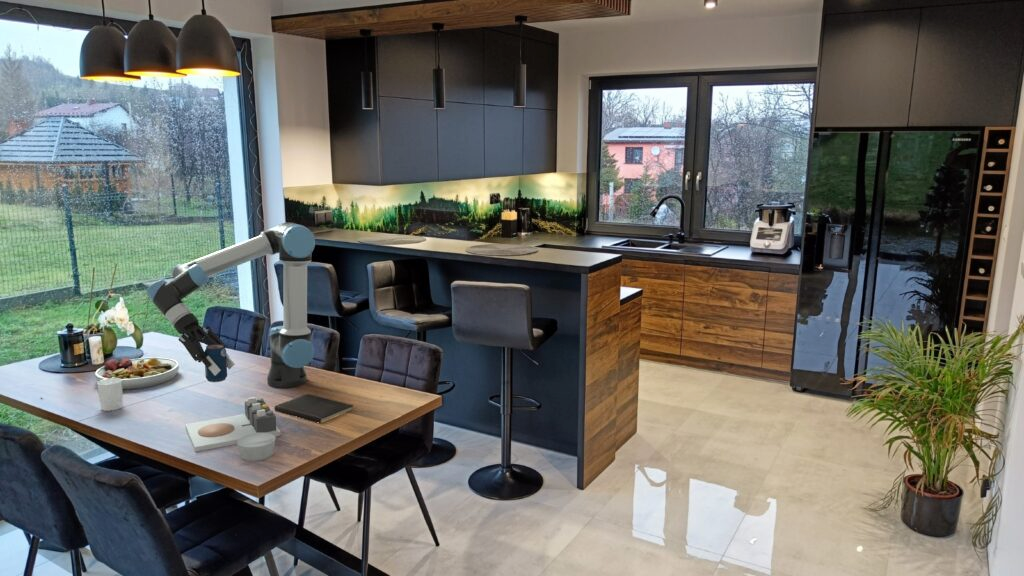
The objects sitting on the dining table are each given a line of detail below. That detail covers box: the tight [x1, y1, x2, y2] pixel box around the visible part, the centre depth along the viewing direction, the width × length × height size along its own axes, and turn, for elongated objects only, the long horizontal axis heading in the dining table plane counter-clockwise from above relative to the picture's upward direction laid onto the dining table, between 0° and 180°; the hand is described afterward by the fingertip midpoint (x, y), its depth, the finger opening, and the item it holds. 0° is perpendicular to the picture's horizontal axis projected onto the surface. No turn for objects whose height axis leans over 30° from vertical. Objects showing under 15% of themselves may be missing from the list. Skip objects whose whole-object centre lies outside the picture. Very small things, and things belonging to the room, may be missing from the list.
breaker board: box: [184, 396, 282, 452], centre depth 239 cm, size 26×22×8 cm
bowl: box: [94, 357, 180, 390], centre depth 292 cm, size 30×30×8 cm
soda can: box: [204, 344, 228, 383], centre depth 249 cm, size 7×7×12 cm
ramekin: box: [236, 433, 277, 462], centre depth 221 cm, size 11×11×5 cm
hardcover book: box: [274, 393, 354, 424], centre depth 260 cm, size 16×23×2 cm
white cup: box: [96, 378, 124, 412], centre depth 260 cm, size 8×8×10 cm
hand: (224, 369), depth 248 cm, fingers closed on soda can, 7 cm apart
